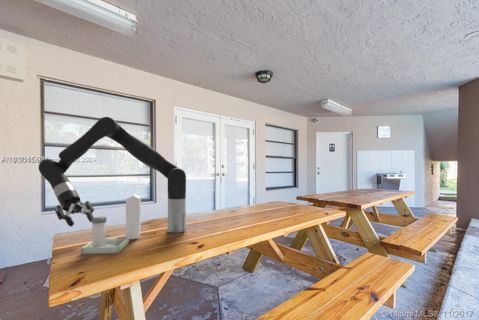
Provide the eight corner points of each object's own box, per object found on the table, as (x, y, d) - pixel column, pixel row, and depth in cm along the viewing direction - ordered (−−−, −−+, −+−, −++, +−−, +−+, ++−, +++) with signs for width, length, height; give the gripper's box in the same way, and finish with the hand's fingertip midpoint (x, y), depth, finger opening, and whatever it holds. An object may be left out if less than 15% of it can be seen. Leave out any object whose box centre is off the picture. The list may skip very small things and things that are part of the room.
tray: (128, 243, 109) (128, 237, 109) (118, 253, 97) (118, 247, 97) (95, 244, 107) (95, 238, 107) (80, 254, 95) (80, 248, 95)
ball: (123, 243, 107) (124, 236, 107) (121, 245, 104) (121, 238, 104) (116, 243, 107) (116, 236, 107) (114, 245, 104) (114, 238, 104)
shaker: (108, 245, 103) (108, 216, 103) (102, 250, 98) (102, 219, 98) (95, 246, 103) (95, 216, 103) (89, 250, 98) (89, 219, 98)
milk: (125, 239, 114) (125, 192, 114) (127, 235, 120) (127, 191, 120) (139, 238, 116) (139, 192, 116) (140, 234, 121) (140, 190, 121)
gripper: (52, 190, 102) (69, 221, 98) (86, 187, 115) (102, 214, 111) (45, 202, 105) (61, 232, 100) (78, 198, 118) (94, 224, 113)
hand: (82, 223), depth 105 cm, fingers open, 8 cm apart
